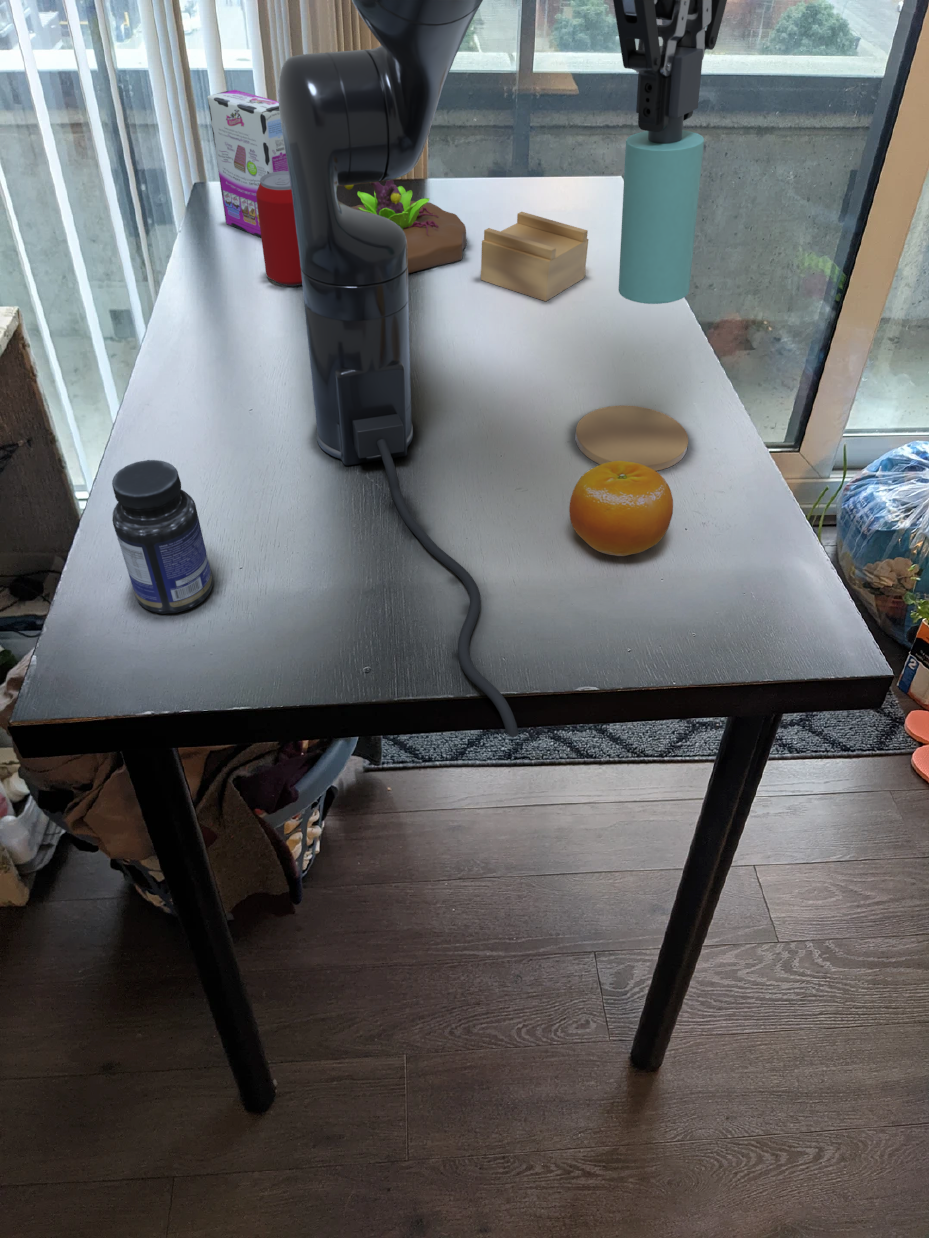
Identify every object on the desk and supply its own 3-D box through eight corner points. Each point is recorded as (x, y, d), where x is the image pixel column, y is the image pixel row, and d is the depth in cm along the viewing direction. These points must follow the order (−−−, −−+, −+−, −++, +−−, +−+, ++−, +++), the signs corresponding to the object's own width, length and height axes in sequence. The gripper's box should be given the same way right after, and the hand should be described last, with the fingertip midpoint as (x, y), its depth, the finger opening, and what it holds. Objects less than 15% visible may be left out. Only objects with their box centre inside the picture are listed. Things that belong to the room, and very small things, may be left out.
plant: (489, 262, 125) (492, 172, 117) (347, 284, 119) (340, 191, 112) (434, 210, 138) (433, 127, 131) (303, 227, 133) (295, 141, 125)
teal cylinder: (727, 46, 70) (656, 41, 73) (687, 62, 67) (614, 56, 70) (701, 285, 82) (641, 272, 85) (666, 309, 79) (605, 295, 82)
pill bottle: (215, 564, 79) (191, 451, 71) (212, 613, 74) (186, 498, 67) (139, 570, 78) (107, 456, 71) (131, 620, 74) (95, 505, 66)
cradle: (584, 278, 122) (589, 229, 118) (545, 301, 117) (549, 251, 112) (520, 258, 126) (523, 210, 122) (480, 280, 121) (481, 231, 117)
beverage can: (325, 268, 123) (317, 170, 115) (313, 290, 118) (304, 190, 110) (273, 265, 123) (262, 168, 115) (260, 287, 118) (247, 187, 110)
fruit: (623, 458, 85) (627, 421, 77) (689, 526, 83) (699, 495, 75) (551, 518, 85) (548, 487, 77) (615, 588, 83) (619, 563, 75)
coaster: (707, 462, 91) (708, 455, 91) (602, 480, 89) (603, 473, 88) (656, 405, 99) (657, 398, 98) (558, 421, 96) (559, 414, 96)
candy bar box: (304, 235, 131) (292, 104, 120) (277, 245, 128) (261, 112, 117) (251, 214, 136) (235, 87, 125) (224, 224, 133) (204, 94, 122)
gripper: (685, -159, 56) (661, 153, 68) (788, -173, 64) (751, 109, 76) (579, -155, 60) (573, 140, 71) (689, -168, 68) (668, 99, 79)
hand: (665, 123), depth 73 cm, fingers closed on teal cylinder, 3 cm apart
